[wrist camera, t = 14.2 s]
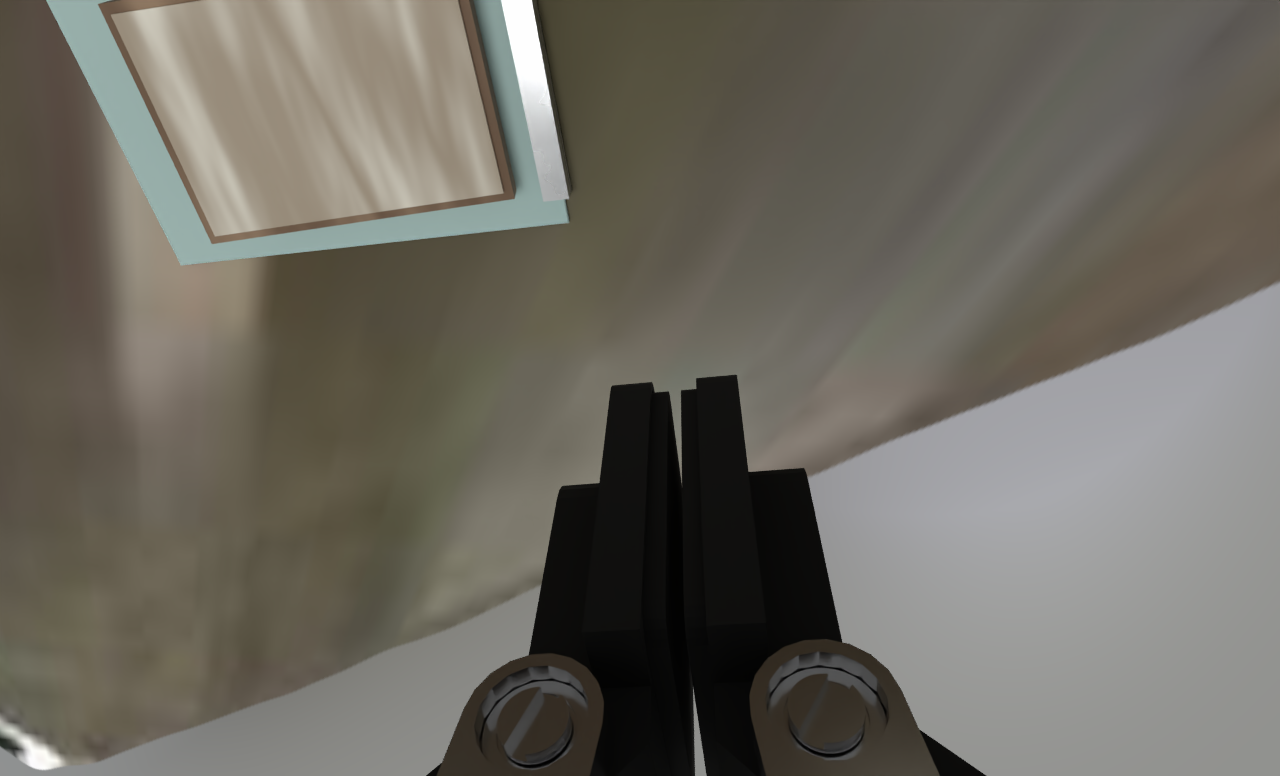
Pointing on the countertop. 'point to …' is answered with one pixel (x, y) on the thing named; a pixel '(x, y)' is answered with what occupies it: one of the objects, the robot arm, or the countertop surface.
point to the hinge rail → (538, 97)
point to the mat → (192, 245)
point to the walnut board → (317, 108)
